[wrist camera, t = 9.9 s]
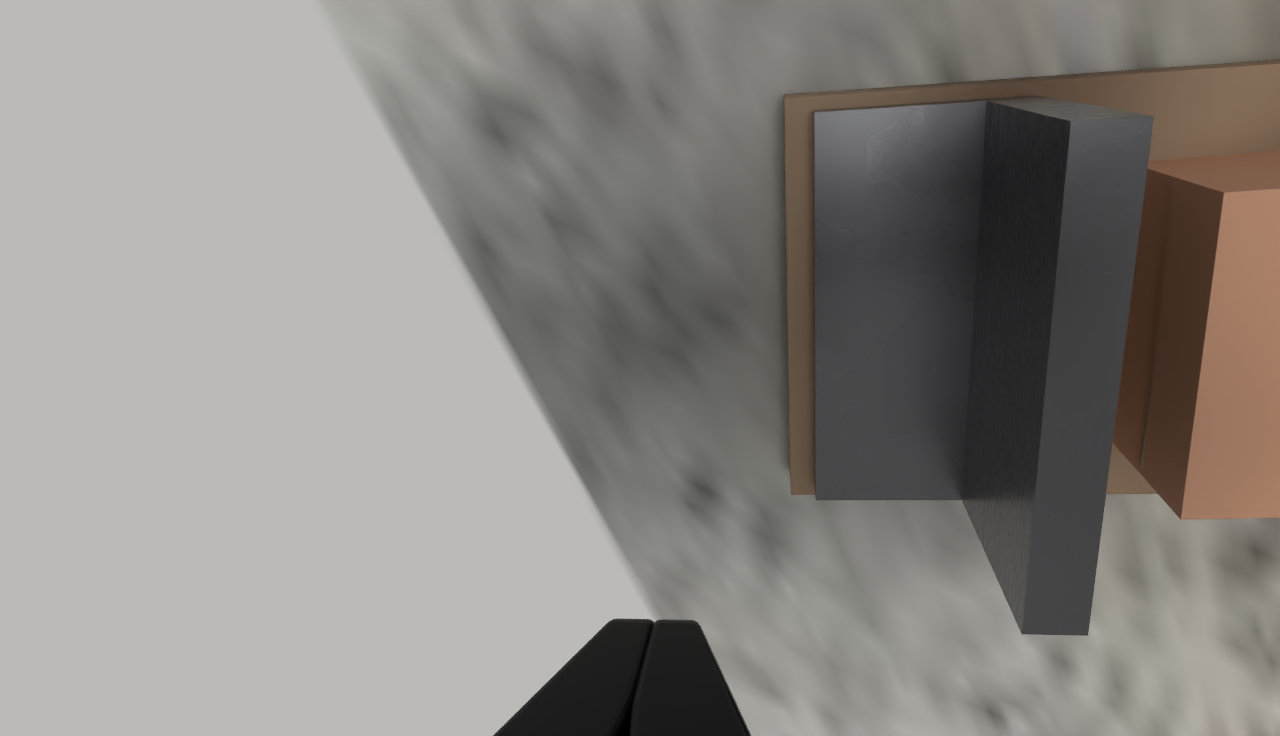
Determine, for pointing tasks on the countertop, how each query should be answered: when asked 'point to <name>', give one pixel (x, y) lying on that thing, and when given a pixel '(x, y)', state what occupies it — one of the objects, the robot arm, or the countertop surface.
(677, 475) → the countertop surface
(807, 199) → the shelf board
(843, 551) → the countertop surface
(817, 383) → the bookend
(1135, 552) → the countertop surface
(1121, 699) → the countertop surface
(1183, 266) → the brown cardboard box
